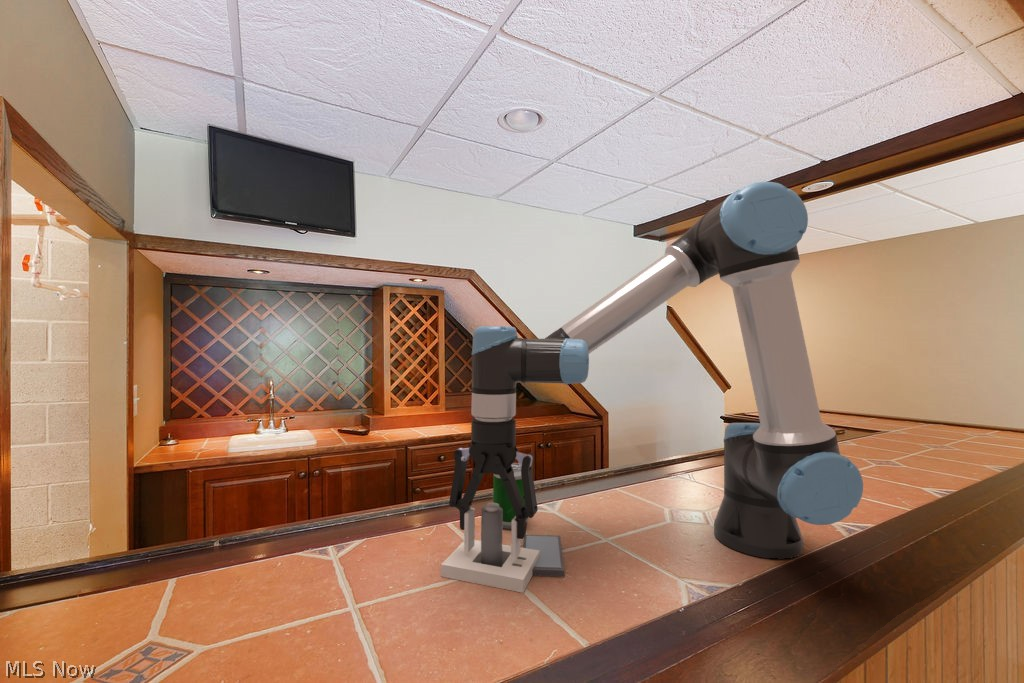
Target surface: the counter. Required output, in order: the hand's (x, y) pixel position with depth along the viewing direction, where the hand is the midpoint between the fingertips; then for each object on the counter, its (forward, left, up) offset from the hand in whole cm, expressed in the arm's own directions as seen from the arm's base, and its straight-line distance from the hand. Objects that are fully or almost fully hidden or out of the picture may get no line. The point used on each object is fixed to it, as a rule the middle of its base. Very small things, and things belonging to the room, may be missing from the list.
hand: (492, 552), depth 74 cm
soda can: (+3, -19, -3) cm, 19 cm away
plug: (0, 0, -3) cm, 3 cm away
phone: (-7, -7, -3) cm, 10 cm away
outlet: (0, 0, -3) cm, 3 cm away
